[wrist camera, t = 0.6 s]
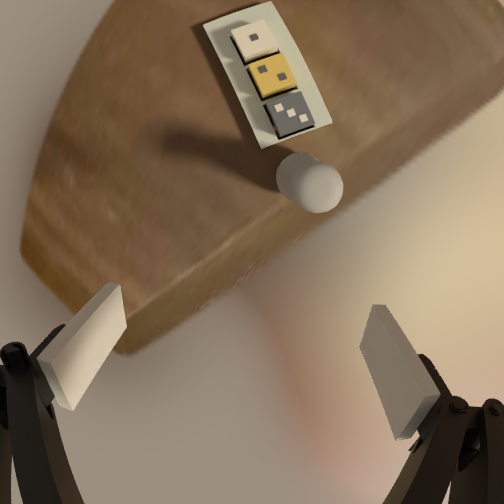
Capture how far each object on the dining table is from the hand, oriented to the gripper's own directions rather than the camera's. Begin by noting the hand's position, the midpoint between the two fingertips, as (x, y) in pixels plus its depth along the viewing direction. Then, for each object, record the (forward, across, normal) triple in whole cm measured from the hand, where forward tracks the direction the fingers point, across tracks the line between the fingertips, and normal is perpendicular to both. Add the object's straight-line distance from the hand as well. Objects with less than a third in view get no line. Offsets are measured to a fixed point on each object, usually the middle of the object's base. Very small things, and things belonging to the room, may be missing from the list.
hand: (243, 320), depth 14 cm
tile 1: (+22, -2, +21) cm, 30 cm away
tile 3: (+22, +3, +12) cm, 25 cm away
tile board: (+24, 0, +18) cm, 30 cm away
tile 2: (+22, +1, +17) cm, 27 cm away
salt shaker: (+24, +5, +5) cm, 25 cm away
